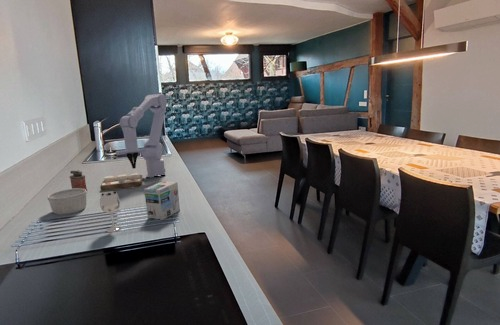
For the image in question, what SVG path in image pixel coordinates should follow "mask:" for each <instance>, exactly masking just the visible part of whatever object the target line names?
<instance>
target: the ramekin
mask: <svg viewBox="0 0 500 325" xmlns="http://www.w3.org/2000/svg"><path fill="white" fill-rule="evenodd" d="M87 192H88V191H87ZM87 192H86V189H82V188H75V189H72V188H68V189H61V190H59V191H58V190H57V191H54V192H52V193H50V194H48V195H47V200H48V202H49V206H50V208H51V211H52V213H53V214H55V215H59V216H60V215H61V216H62V215H71V214H75V213H78V212H79V213H80V211H83V210H84V209H85V208H86V207H87V194H88V193H87Z"/></svg>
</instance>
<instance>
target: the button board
mask: <svg viewBox="0 0 500 325" xmlns="http://www.w3.org/2000/svg"><path fill="white" fill-rule="evenodd" d="M114 180H115V181H114V182H117V181H118V177H114ZM127 180H131V176H130V175H129V176H128V175H127ZM132 180H134V179H132ZM142 180H144V179H143V174H140V181H137V182H128V183H120V184H111V185H102V184H103V183H107V182H105V181H104V180H103V181H102V183H101V184H100V186H99V187H100V192H110V191H116V190H125V189H133V188H132V187H134V188H141V187H140V186H142V187H143V181H142ZM123 181H126V180H123Z"/></svg>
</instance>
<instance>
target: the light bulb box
mask: <svg viewBox="0 0 500 325" xmlns="http://www.w3.org/2000/svg"><path fill="white" fill-rule="evenodd" d="M143 190H144V191H143V192H144V198H145V206H146V207H145V208H146V216H147V219H150V218H155V219H154V220H158V219H160V220H161V221H164V220H166V219H168V218H169V217H171V216H172V214H173V215H174V213H175V214H176V213H178V212H180V211H181V209H180V208H181V206H180V205H181V204H180V197H179V186H178V182H175V181H165V180H164V181H161V182H158V183H155V184H152V185H150V186H148V187H145V188H143ZM170 215H171V216H170ZM168 216H169V217H168ZM163 219H164V220H163Z"/></svg>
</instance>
